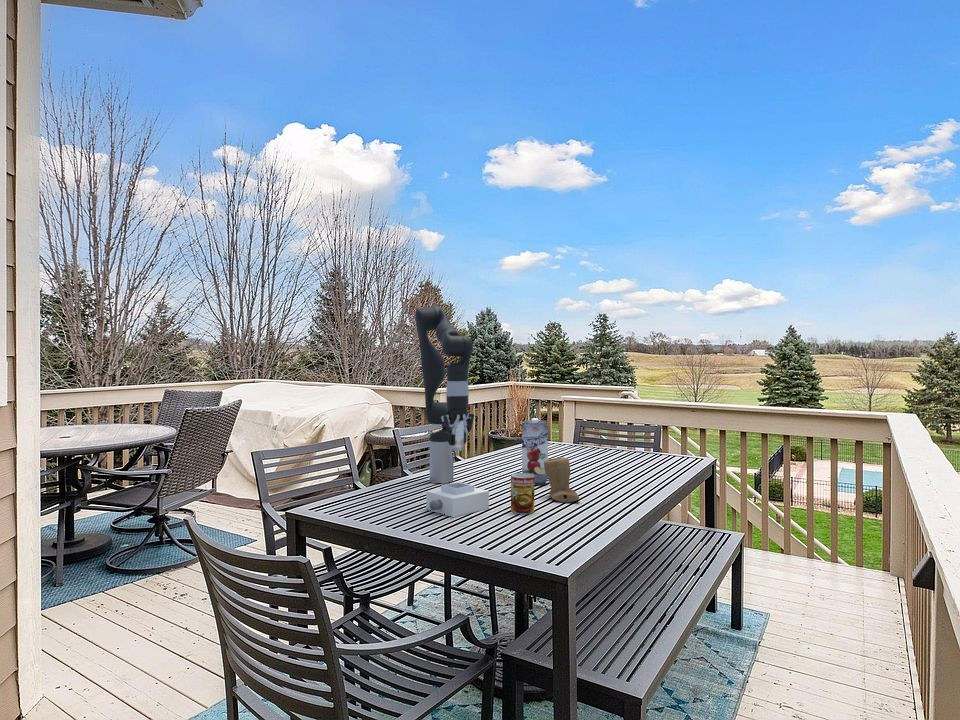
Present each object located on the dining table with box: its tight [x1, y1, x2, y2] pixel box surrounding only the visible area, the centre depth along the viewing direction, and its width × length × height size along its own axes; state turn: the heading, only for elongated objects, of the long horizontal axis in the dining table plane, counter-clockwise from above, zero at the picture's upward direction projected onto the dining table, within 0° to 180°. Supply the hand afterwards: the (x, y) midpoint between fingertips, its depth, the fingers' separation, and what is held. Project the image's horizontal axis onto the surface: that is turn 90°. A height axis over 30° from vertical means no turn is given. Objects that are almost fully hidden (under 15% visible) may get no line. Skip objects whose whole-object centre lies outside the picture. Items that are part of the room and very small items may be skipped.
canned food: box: [510, 472, 535, 515], centre depth 189 cm, size 8×8×12 cm
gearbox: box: [425, 481, 490, 518], centre depth 190 cm, size 19×14×8 cm
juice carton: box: [521, 417, 549, 486], centre depth 232 cm, size 9×10×27 cm
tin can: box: [451, 420, 465, 452], centre depth 192 cm, size 4×4×10 cm
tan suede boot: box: [544, 456, 580, 503], centre depth 206 cm, size 15×12×15 cm
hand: (457, 444), depth 192 cm, fingers closed on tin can, 4 cm apart
